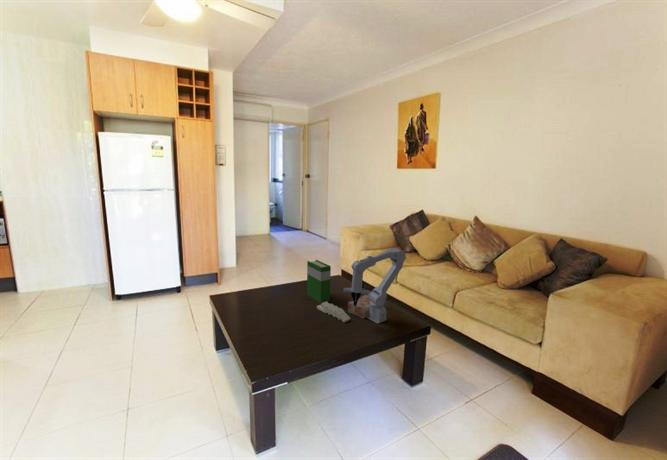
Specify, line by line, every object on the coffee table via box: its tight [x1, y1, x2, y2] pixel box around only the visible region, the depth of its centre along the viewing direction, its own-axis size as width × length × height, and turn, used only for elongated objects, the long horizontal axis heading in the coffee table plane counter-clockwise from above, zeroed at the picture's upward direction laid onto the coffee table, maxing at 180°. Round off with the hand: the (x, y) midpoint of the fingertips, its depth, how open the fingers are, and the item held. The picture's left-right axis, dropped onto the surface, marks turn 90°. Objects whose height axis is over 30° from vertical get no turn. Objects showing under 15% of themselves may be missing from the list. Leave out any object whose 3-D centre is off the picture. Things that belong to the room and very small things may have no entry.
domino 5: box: [334, 307, 351, 323], centre depth 185 cm, size 2×5×9 cm
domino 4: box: [330, 305, 341, 321], centre depth 188 cm, size 2×5×9 cm
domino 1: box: [316, 304, 328, 314], centre depth 197 cm, size 2×5×9 cm
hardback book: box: [306, 259, 332, 304], centre depth 214 cm, size 18×7×24 cm, turn 35°
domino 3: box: [325, 303, 337, 318], centre depth 191 cm, size 2×5×9 cm
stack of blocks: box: [347, 294, 370, 319], centre depth 198 cm, size 21×6×12 cm
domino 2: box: [320, 301, 332, 316], centre depth 193 cm, size 2×5×9 cm
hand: (355, 305), depth 180 cm, fingers closed
